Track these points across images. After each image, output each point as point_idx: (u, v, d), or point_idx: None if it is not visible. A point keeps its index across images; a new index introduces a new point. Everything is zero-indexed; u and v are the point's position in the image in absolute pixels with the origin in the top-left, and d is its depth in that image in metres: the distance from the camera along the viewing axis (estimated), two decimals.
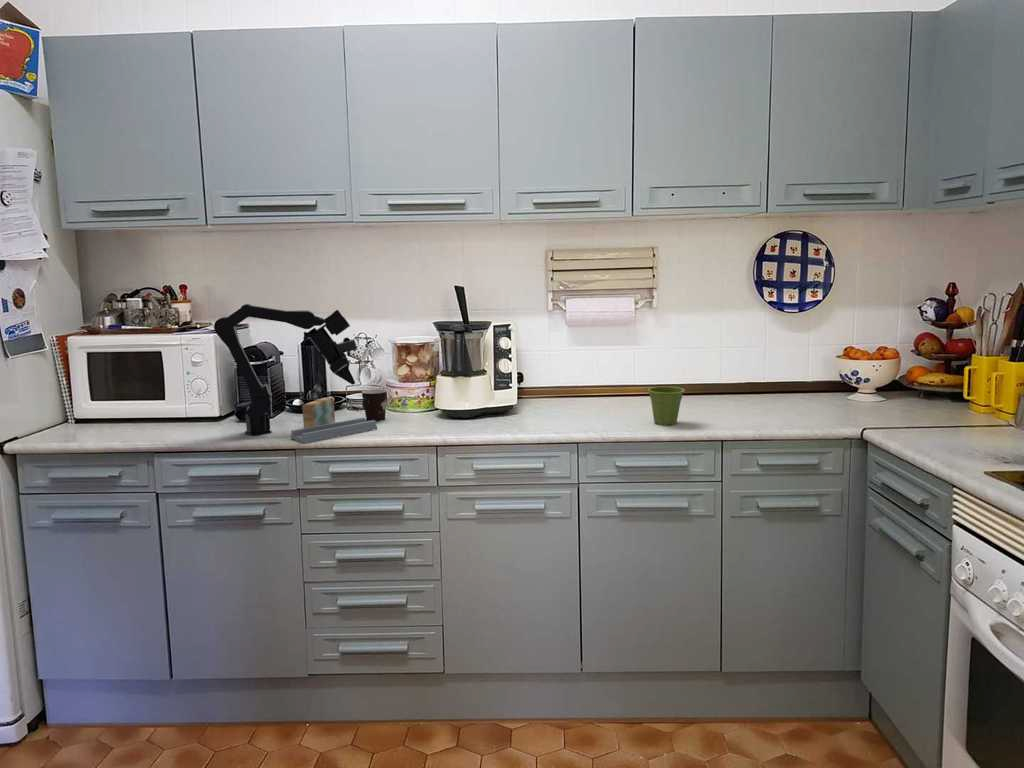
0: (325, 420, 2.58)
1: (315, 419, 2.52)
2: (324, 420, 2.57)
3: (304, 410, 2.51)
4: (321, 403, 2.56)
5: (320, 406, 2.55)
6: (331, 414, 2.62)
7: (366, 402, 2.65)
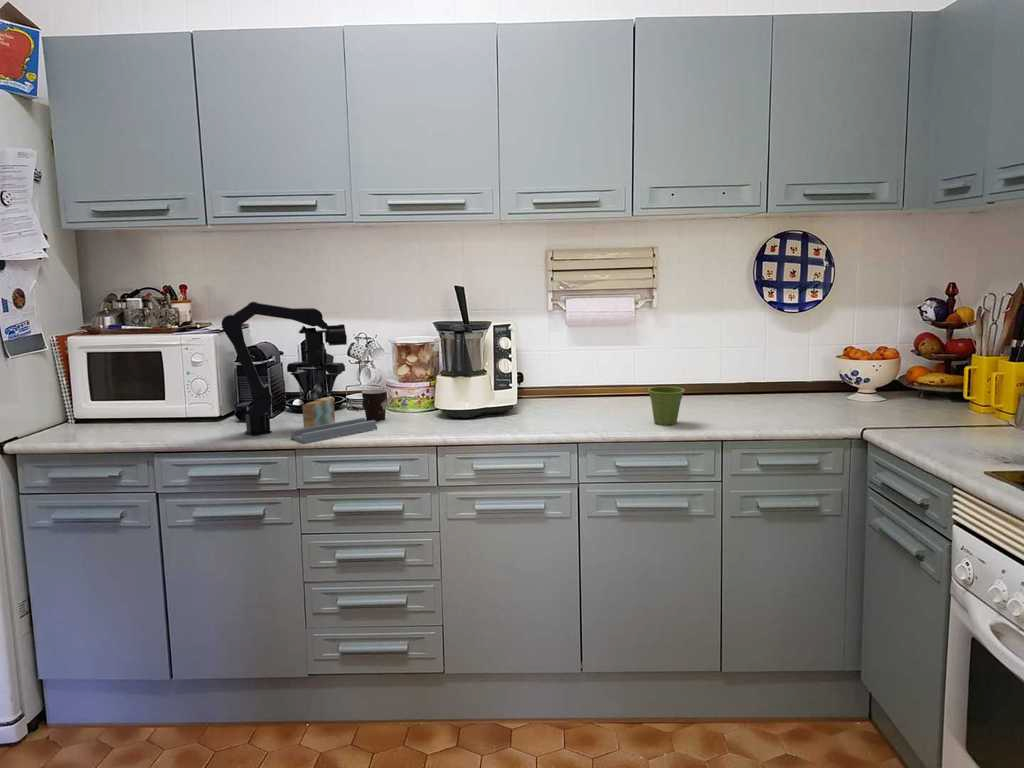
0: (325, 420, 2.58)
1: (315, 419, 2.52)
2: (324, 420, 2.57)
3: (304, 410, 2.51)
4: (321, 403, 2.56)
5: (320, 406, 2.55)
6: (331, 414, 2.62)
7: (366, 402, 2.65)
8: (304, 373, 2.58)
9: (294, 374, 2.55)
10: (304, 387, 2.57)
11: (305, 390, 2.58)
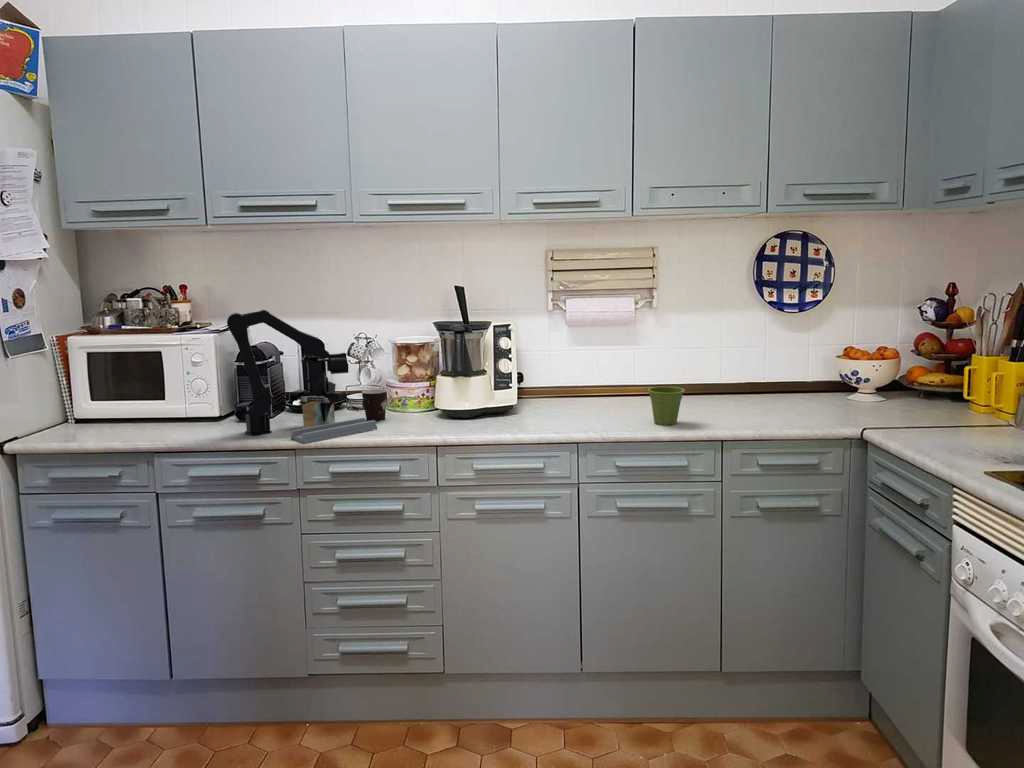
0: None
1: (315, 419, 2.52)
2: None
3: (304, 410, 2.51)
4: None
5: (320, 406, 2.55)
6: (331, 414, 2.62)
7: (366, 402, 2.65)
8: None
9: (303, 403, 2.55)
10: None
11: None
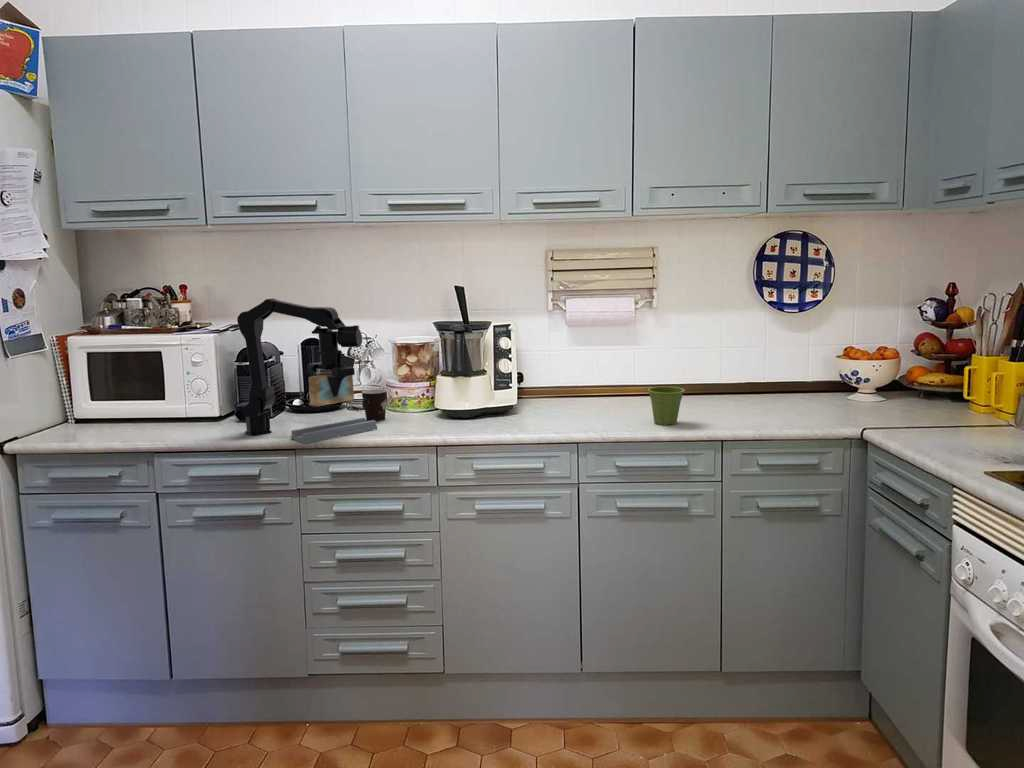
0: None
1: (319, 393, 2.41)
2: None
3: (309, 382, 2.42)
4: None
5: None
6: (347, 389, 2.49)
7: (366, 402, 2.65)
8: None
9: (316, 375, 2.46)
10: None
11: None
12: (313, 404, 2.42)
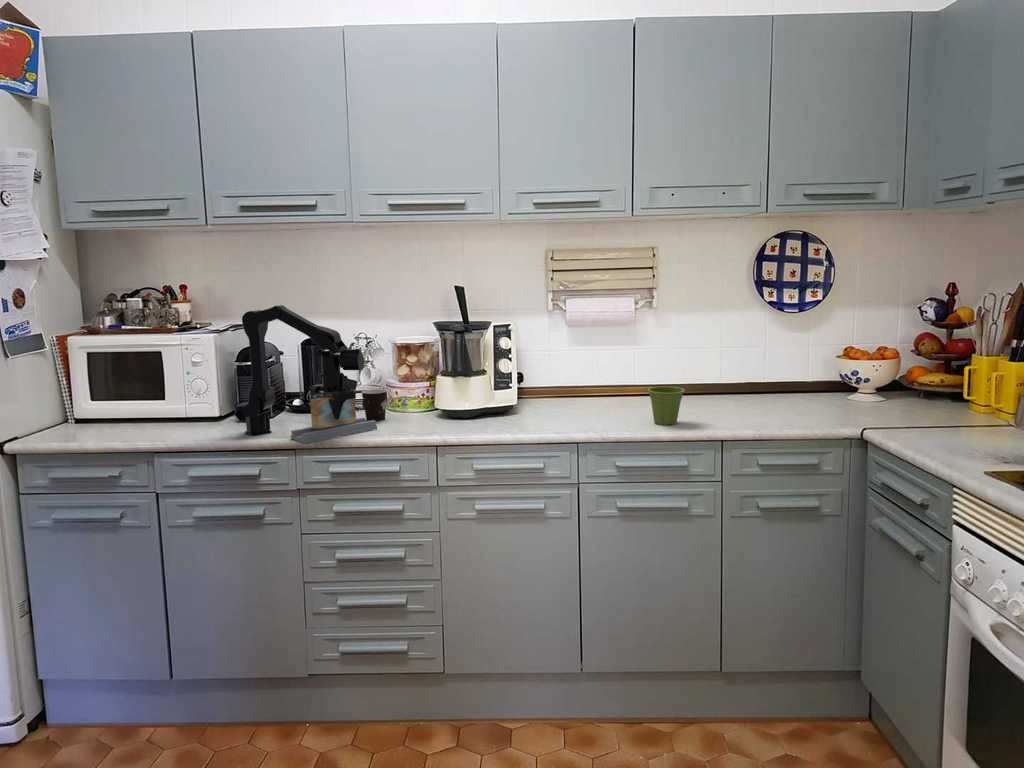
0: None
1: (321, 415, 2.42)
2: None
3: (311, 405, 2.42)
4: None
5: None
6: (349, 412, 2.49)
7: (366, 402, 2.65)
8: None
9: None
10: None
11: None
12: (314, 427, 2.42)
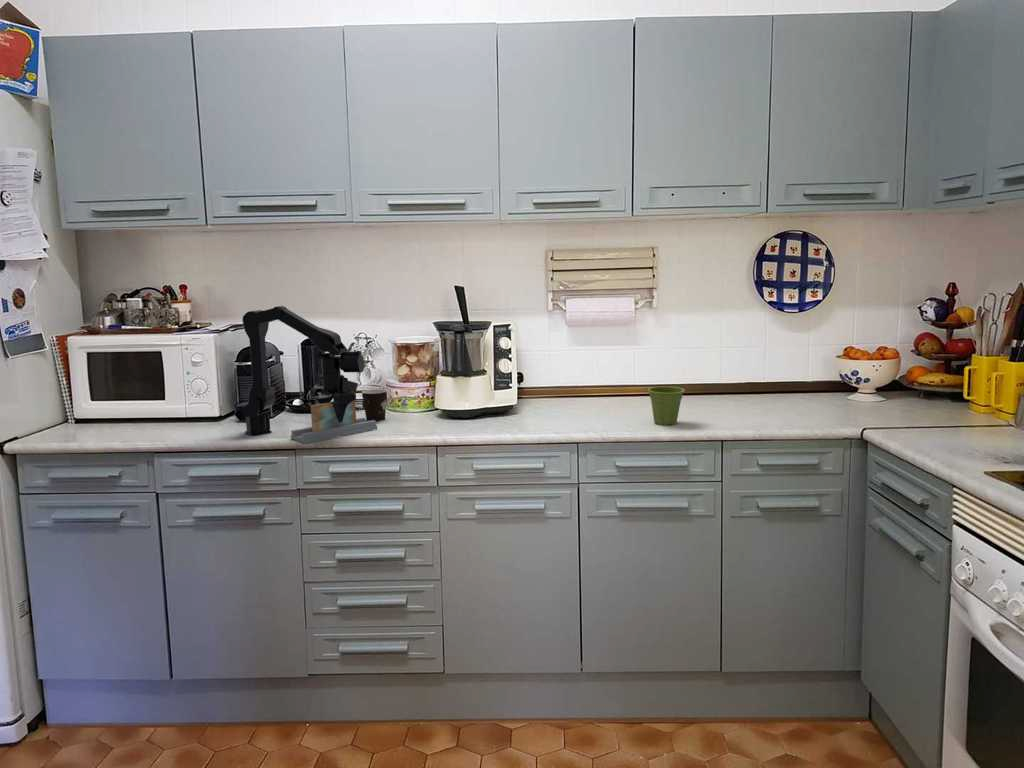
0: (339, 423, 2.46)
1: (321, 421, 2.42)
2: (337, 423, 2.46)
3: (312, 411, 2.42)
4: None
5: (331, 408, 2.44)
6: (350, 417, 2.49)
7: (366, 402, 2.65)
8: (328, 399, 2.50)
9: (315, 399, 2.48)
10: None
11: None
12: None
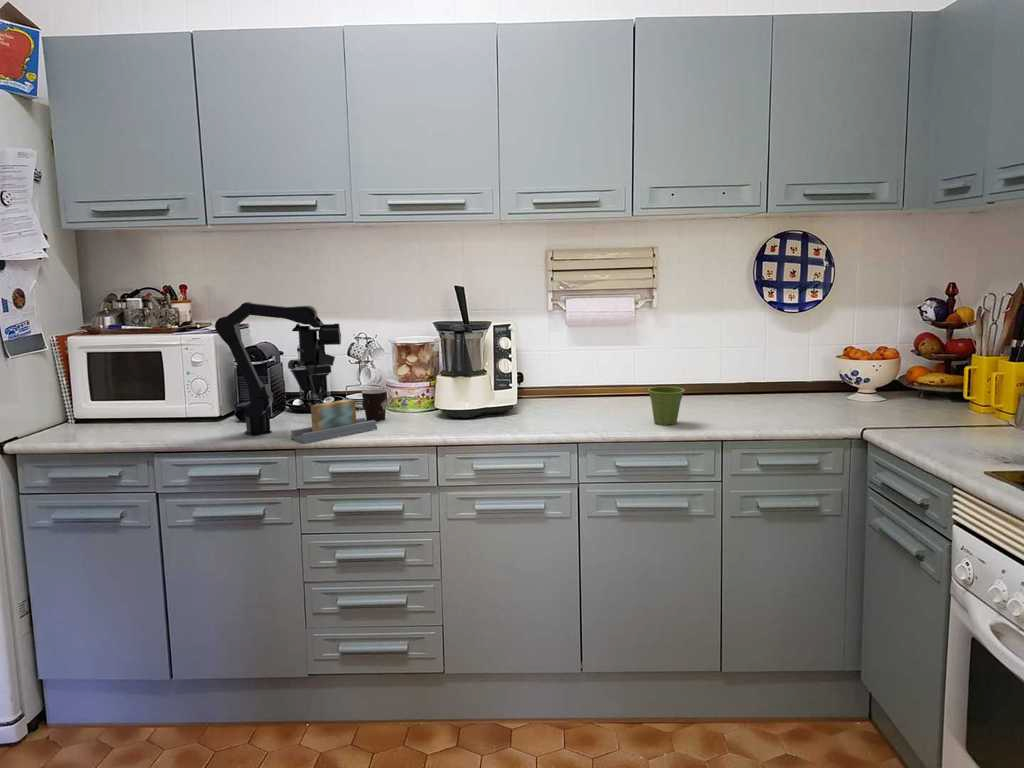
0: (339, 423, 2.46)
1: (321, 421, 2.42)
2: (337, 423, 2.46)
3: (312, 411, 2.42)
4: (333, 405, 2.44)
5: (331, 408, 2.44)
6: (350, 417, 2.49)
7: (366, 402, 2.65)
8: (305, 371, 2.55)
9: (292, 371, 2.54)
10: (302, 385, 2.55)
11: (303, 388, 2.55)
12: None
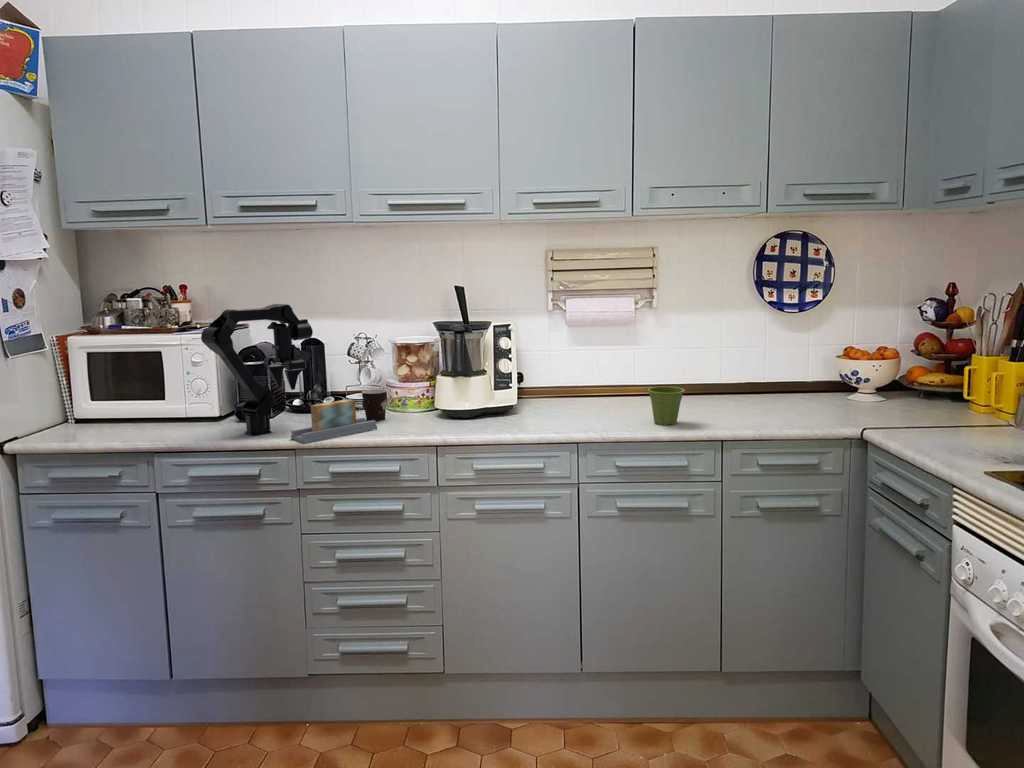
0: (339, 423, 2.46)
1: (321, 421, 2.42)
2: (337, 423, 2.46)
3: (312, 411, 2.42)
4: (333, 405, 2.44)
5: (331, 408, 2.44)
6: (350, 417, 2.49)
7: (366, 402, 2.65)
8: (280, 367, 2.63)
9: (268, 368, 2.61)
10: (278, 381, 2.62)
11: (279, 384, 2.62)
12: None
